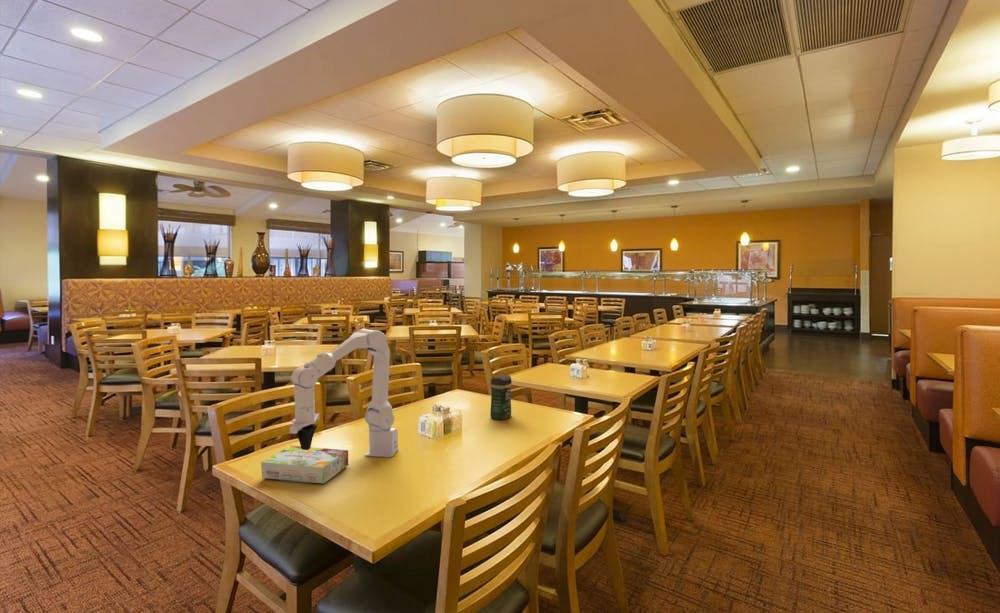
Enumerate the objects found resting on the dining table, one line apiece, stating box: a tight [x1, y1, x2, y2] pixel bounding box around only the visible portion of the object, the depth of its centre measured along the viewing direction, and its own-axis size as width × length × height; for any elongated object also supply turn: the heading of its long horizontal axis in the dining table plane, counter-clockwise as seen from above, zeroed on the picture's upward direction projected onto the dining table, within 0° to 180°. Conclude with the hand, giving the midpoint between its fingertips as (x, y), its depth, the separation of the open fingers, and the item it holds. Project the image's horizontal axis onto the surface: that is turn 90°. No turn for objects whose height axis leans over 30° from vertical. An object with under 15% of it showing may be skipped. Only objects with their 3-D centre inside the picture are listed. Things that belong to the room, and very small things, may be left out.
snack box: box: [260, 445, 349, 484], centre depth 153 cm, size 21×6×15 cm
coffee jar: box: [489, 374, 513, 420], centre depth 213 cm, size 10×8×19 cm
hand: (306, 449), depth 151 cm, fingers closed
